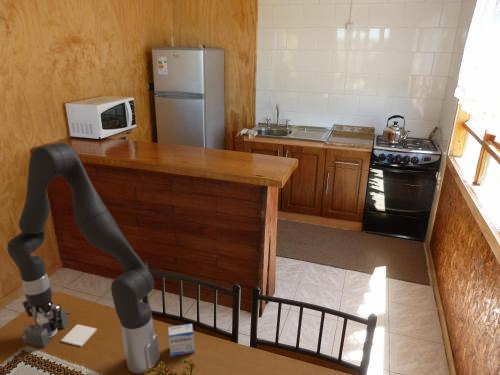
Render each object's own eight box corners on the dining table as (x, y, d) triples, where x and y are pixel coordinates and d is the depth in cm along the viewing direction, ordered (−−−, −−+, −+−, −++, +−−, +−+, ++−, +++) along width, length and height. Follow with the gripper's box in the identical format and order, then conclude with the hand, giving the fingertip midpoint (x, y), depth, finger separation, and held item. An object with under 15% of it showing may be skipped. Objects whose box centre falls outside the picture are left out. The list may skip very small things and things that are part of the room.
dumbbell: (73, 320, 137) (70, 306, 135) (44, 347, 125) (40, 333, 122) (52, 315, 139) (49, 302, 137) (22, 342, 127) (18, 328, 125)
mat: (96, 329, 132) (96, 328, 132) (81, 346, 125) (81, 345, 125) (77, 325, 134) (77, 324, 134) (61, 341, 127) (61, 340, 127)
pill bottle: (60, 327, 133) (54, 305, 129) (53, 338, 128) (47, 315, 124) (44, 328, 133) (39, 305, 129) (37, 339, 128) (31, 316, 124)
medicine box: (170, 357, 121) (168, 336, 118) (169, 347, 125) (167, 326, 122) (195, 352, 122) (193, 331, 119) (193, 342, 127) (192, 322, 123)
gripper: (63, 283, 125) (72, 324, 131) (28, 277, 129) (39, 316, 135) (46, 297, 118) (56, 339, 124) (10, 290, 122) (22, 331, 128)
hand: (47, 327), depth 130 cm, fingers closed on pill bottle, 5 cm apart
